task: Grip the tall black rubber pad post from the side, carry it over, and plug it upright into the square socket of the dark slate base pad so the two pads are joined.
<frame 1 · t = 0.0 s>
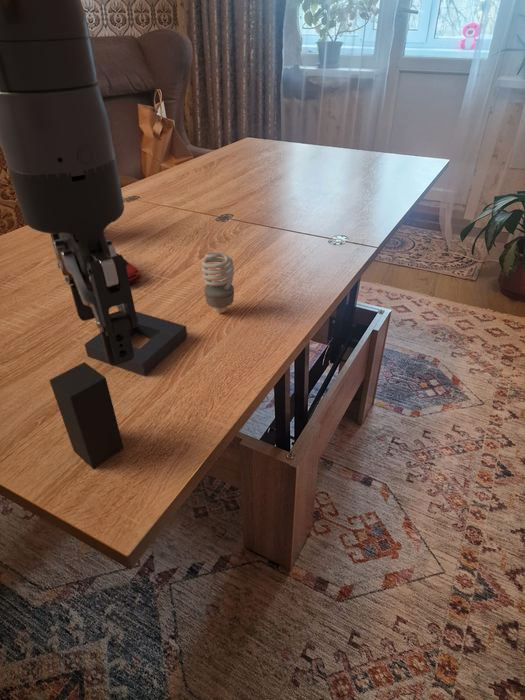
hand: (105, 337, 45), 22 cm above the table, tool pointing down, fingers open, 8 cm apart
toy car: (112, 276, 103), on the table
light bulb: (220, 313, 90), on the table
liquor: (76, 241, 118), on the table
base pad: (138, 347, 81), on the table
pad post: (98, 449, 63), on the table
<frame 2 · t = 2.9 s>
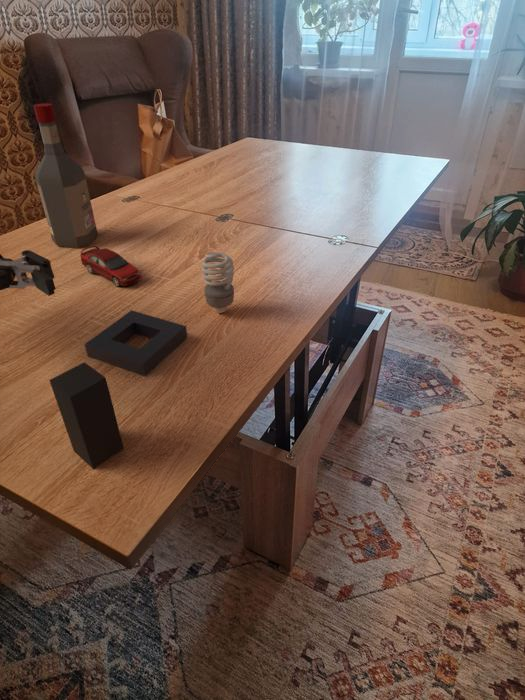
hand: (17, 301, 58), 18 cm above the table, tool horizontal, fingers open, 8 cm apart
nothing on the table moved.
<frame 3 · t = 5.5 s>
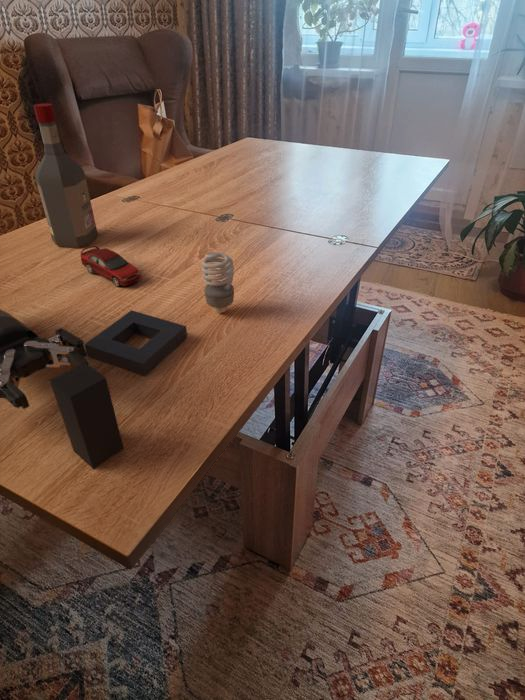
hand: (56, 385, 62), 7 cm above the table, tool horizontal, fingers open, 8 cm apart
nothing on the table moved.
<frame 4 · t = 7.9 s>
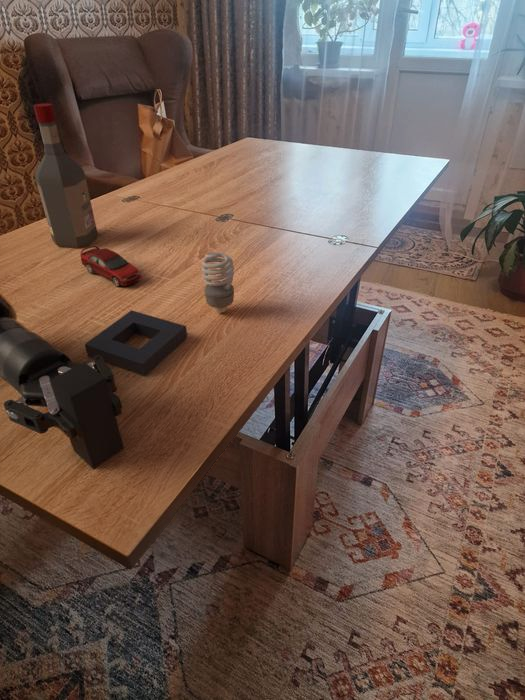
hand: (99, 420, 57), 7 cm above the table, tool horizontal, fingers closed on pad post, 4 cm apart
pad post: (99, 449, 63), on the table, touching gripper
everything else where it was.
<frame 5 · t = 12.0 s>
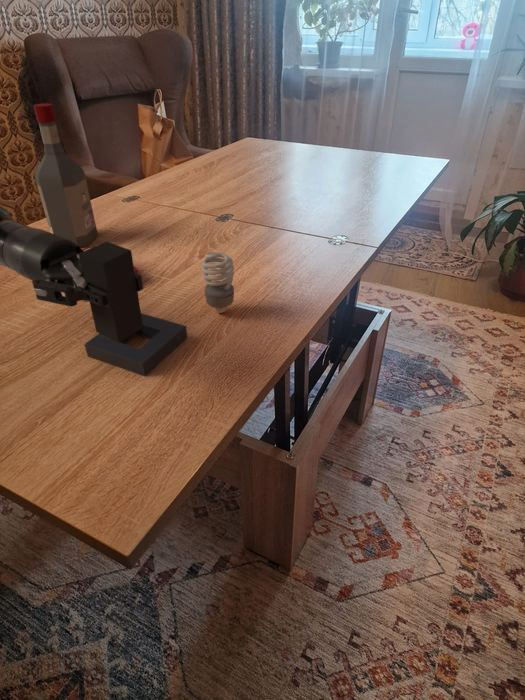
hand: (125, 291, 63), 17 cm above the table, tool horizontal, fingers closed on pad post, 4 cm apart
pad post: (119, 329, 68), point 10 cm above the table, touching gripper
everything else where it was.
when the fingers open (7 cm above the table, at t = 16.2 s): pad post stays where it is, resting in base pad.
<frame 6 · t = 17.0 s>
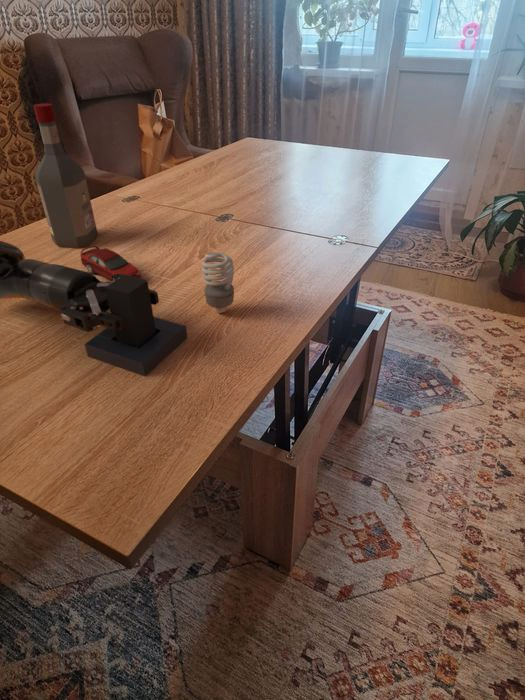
hand: (140, 310, 76), 8 cm above the table, tool horizontal, fingers open, 8 cm apart
pad post: (138, 346, 81), resting in base pad
everything else where it was.
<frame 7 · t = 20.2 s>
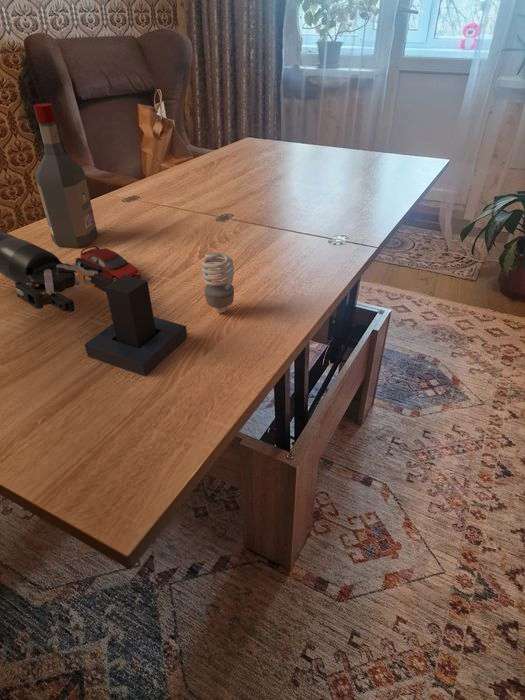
hand: (92, 297, 80), 7 cm above the table, tool horizontal, fingers open, 8 cm apart
nothing on the table moved.
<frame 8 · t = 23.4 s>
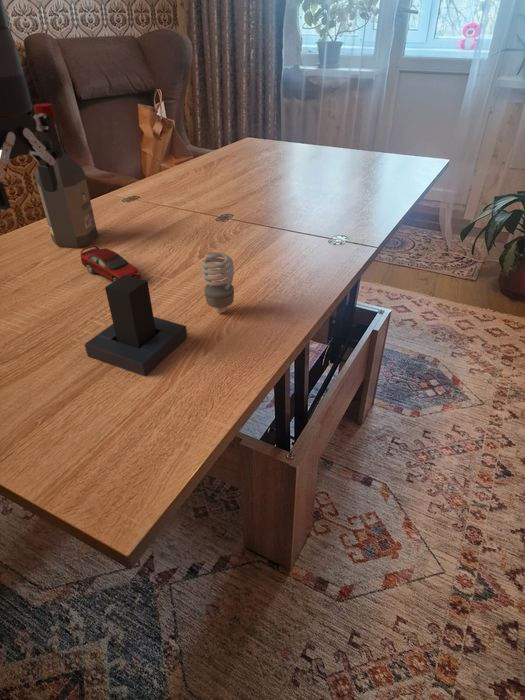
hand: (28, 199, 70), 24 cm above the table, tool pointing down, fingers open, 8 cm apart
nothing on the table moved.
at the end: pad post 0.1 cm off-centre in the base pad, point 0.0 cm above the base pad's base; pad post tilted 0°; the gripper is holding nothing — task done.
